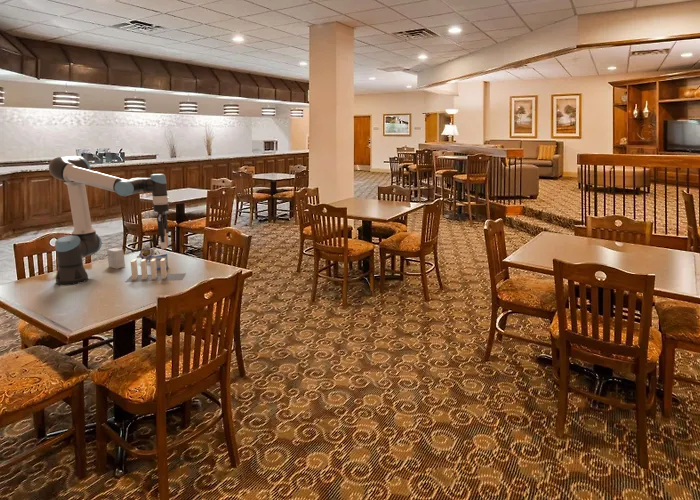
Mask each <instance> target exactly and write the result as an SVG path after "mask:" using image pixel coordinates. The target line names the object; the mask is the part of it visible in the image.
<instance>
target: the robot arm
mask: <svg viewBox="0 0 700 500" xmlns="http://www.w3.org/2000/svg"><path fill="white" fill-rule="evenodd" d="M48 171H49V174H50V175H51V176H52V177H53V178H54V179H56V180H59V181H62V182H63V184H64V185H66V187H67V193H68V199H69V205H70V211H71V218H72V223H73V228H74V230H73V231H72V232H71V235H66V236H62V237H59V238H58V239H56V241H55V242H54V249H55V254H56V255H55V256H56V263H57V272H56V277H55V283H56V284H57V285H60V286H61V285H64V286H65V285H66V286H69V285H77V284H82V283H84V282H87V281H88V280H89V275H88V272H87V271H86V268H85V267H84V264H83V259H84V258H87V257H89V256H92V255H94V254H97V253H98V252H99V251H100V250H101V249H102V238H101V236H100V235H99V234H98V233H97V232H96V230H95V229H94V228H93V227H92V220H91V213H90V207H89V201H88V200H89V199H88V194H87V187H86V185H87V186H90V187H94V188H98V189H102V190H105V191H109V192H114V193H115V194H117V195H118V196H121V197H128V196H131V195H136V194H142V193H151V194H152V195H151V196H152V204H153V205H152V206H153V207H152V208H153V212H155V213H157V217H156V222H157V231H158V235H157V237H159V241H160V242H159V243H160V249H162V248H166V249H168V247H169V246H170V245H169V244H170V243H169V234H170V231H169V227H168V214H167V213H166V212H169V210H170V206H169V199H170V197H169V196H168V187H167V186H168V185H167V184H168V182H167V178H166V175H165V174H164V173H153V174H150V177H131V178H129V179H125V178H120V177H118V176H113V175H110V174H106V173H102V172H99V171H94V170H91V165H90V163H89V161H88V160H87V159H86V158H84V157H82V156H78V155H69V156H58V157H55V158H53V159H52V160H51V161H50V163H49V164H48ZM165 229H166V234H167V245H168V247H167V246H166V236H165Z"/></svg>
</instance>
